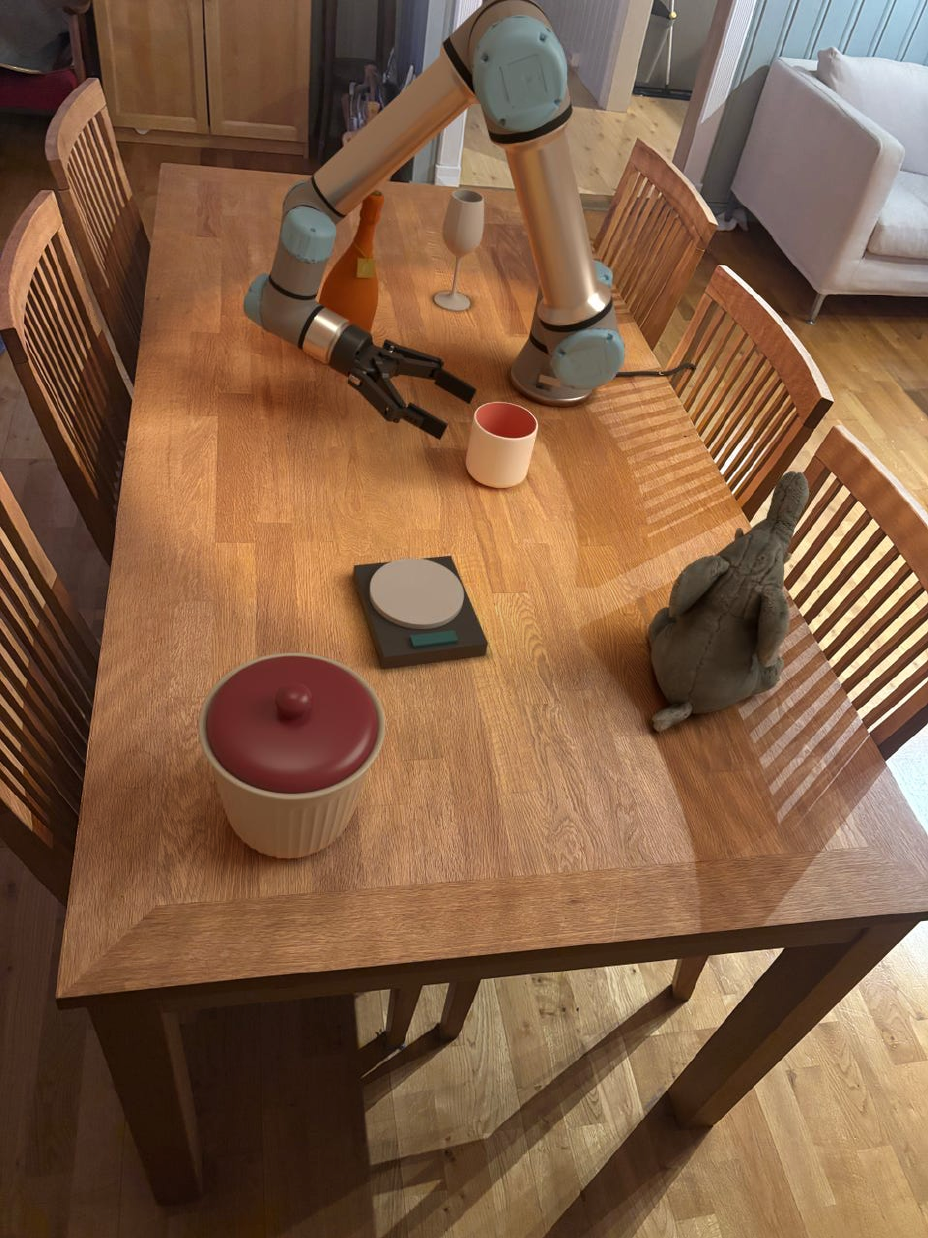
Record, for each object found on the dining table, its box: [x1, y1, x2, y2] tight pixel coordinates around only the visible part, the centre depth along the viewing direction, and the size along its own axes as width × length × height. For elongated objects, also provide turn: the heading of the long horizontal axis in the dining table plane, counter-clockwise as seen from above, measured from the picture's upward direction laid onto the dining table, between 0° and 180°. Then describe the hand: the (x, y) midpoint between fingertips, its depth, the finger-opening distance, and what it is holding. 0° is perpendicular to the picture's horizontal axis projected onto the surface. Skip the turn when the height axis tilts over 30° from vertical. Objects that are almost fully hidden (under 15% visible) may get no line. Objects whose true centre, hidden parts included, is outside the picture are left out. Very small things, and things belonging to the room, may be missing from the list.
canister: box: [197, 651, 386, 860], centre depth 99 cm, size 18×18×21 cm
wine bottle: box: [318, 189, 385, 333], centre depth 163 cm, size 10×10×30 cm
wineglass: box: [433, 188, 485, 312], centre depth 185 cm, size 8×8×21 cm
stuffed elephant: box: [647, 470, 810, 733], centre depth 122 cm, size 19×21×27 cm
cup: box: [465, 401, 539, 489], centre depth 152 cm, size 10×10×10 cm
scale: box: [352, 555, 489, 670], centre depth 130 cm, size 14×17×3 cm
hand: (459, 413), depth 149 cm, fingers open, 13 cm apart
